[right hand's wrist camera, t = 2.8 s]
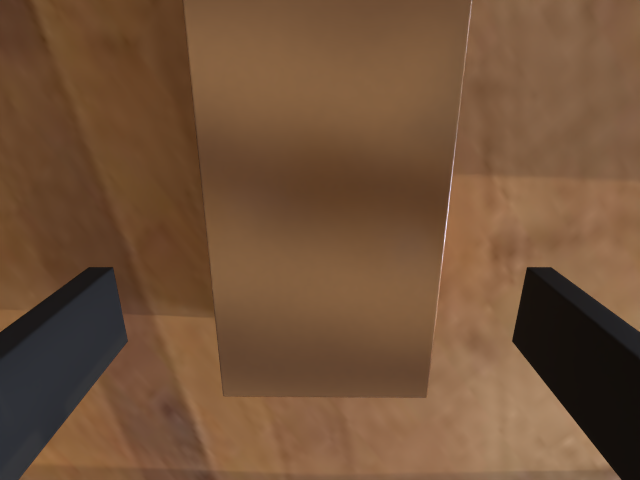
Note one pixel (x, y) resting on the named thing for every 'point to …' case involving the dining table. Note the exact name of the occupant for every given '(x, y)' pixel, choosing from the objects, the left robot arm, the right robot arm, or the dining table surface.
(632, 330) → the right robot arm
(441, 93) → the wooden beam
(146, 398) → the dining table surface
